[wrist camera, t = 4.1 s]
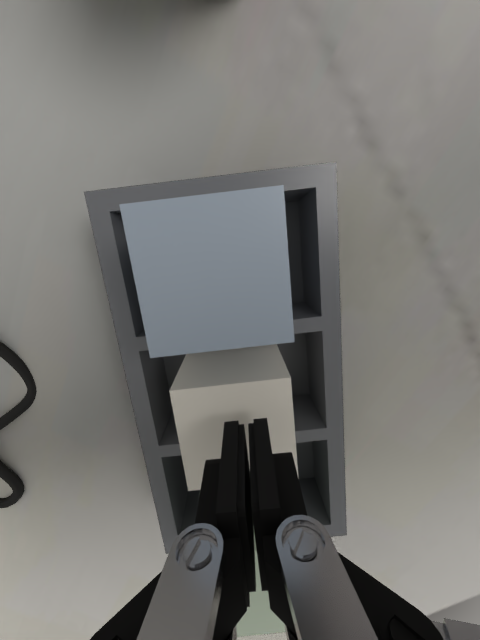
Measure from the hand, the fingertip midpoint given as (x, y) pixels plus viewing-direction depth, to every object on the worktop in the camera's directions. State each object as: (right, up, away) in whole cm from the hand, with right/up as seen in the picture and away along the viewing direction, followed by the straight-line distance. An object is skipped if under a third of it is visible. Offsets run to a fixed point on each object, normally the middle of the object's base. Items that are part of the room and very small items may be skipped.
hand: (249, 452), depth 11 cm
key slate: (-1, +8, +4) cm, 9 cm away
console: (-1, +2, +10) cm, 10 cm away
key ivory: (-1, +2, +7) cm, 7 cm away
